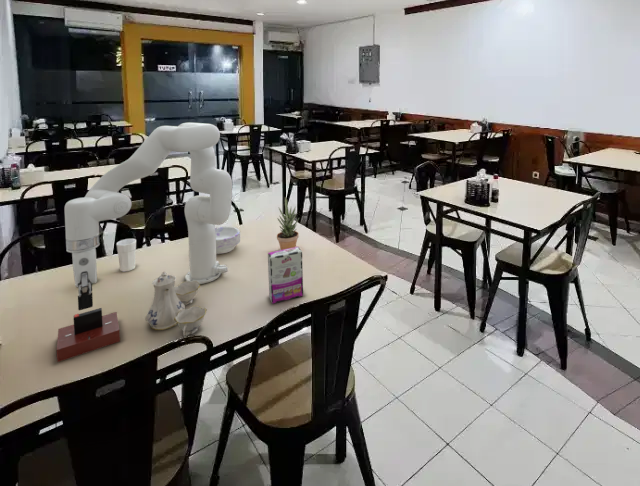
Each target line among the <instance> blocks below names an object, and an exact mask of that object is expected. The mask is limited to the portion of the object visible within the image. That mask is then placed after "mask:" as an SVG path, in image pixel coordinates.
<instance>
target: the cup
mask: <svg viewBox="0 0 640 486" xmlns="http://www.w3.org/2000/svg"><path fill="white" fill-rule="evenodd" d="M136 250H137V239H136V238H125V239H120V240H119V241H117V242H116V251H117V256H118V264H119V265H118V266H119V271H120V272H130V271H132V270H135V268H136V253H137V252H136Z"/></svg>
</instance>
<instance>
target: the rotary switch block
mask: <svg viewBox="0 0 640 486" xmlns="http://www.w3.org/2000/svg"><path fill="white" fill-rule="evenodd" d="M102 322H103V326H102V327H99V328H96V329H92V330H89V331H86V332H83V333H79V334H76V335H75V334H74V324H71V325H67V326H63V327H60V328H58V331H57V340H56V341H57V342H56V362H57V363H60V362H63V361H65V360H68V359H71V358H72V359H73V358H75V357H77V356H81V355H83V354H86V353H89V352H92V351H95V350H98V349H101V348H104V347H107V346H112V345H114V344H116V343H120V342H121V337H120V336H121V335H120V333H121V332H120V325H119V318H118V312H117V311H114V312H111V313H108V314H105V315H102Z"/></svg>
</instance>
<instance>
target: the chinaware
mask: <svg viewBox="0 0 640 486" xmlns="http://www.w3.org/2000/svg"><path fill="white" fill-rule="evenodd" d="M176 280H177V277H176V276H175V275H172V274H171V275H170V274H167V272H166V271H163V272H162V273H161V274H160V275H159V277H157V278H155V279H154V280H152V282H151V284H152V285H153V289H154V292H153V293H154V295H153V299H152V303H151V307H150V308H149V309H148V311H147V313H146V315H145V319H144V320H145V322H146V323H148V324H149V325H150V329H152V330H154V331H164V330H169V329H171V328H173V327H175V326H176V325H178V327H179V328H180V330H182V335H183V337H184V338H186V337H187V336H189V335H194V334H195V333H196V332H198V331H199V330H198V329H199V327H200V326H201V325H202V324H203V322H204V317H205V316H206V313H207V310H208V309H207V308H205V307H201V306H200V305H192V306H190V307H189V308H186V306H187V305H190V304H192V303H193V299H195V297H196V296H197V294H198V291H199V289H201V284H199V283H198V282H197V281H192V282H186V281H182V282H180V283H179V284H178V285H175V282H176Z"/></svg>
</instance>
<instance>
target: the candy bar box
mask: <svg viewBox="0 0 640 486" xmlns="http://www.w3.org/2000/svg"><path fill="white" fill-rule="evenodd" d="M303 269H304V268H303V251H302V250H301V248H300V247H299V246H296V247H294V248H289V249H284V250H281V249H279V250H275V251H271V252H267V270H268V271H267V272H268V298H269V300H270V303H271V304H272V305H273V304H277V303H281V302H285V301H288V300H292V299H296V298H299V297H303V296H304V279H303V277H304V274H303Z"/></svg>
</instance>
